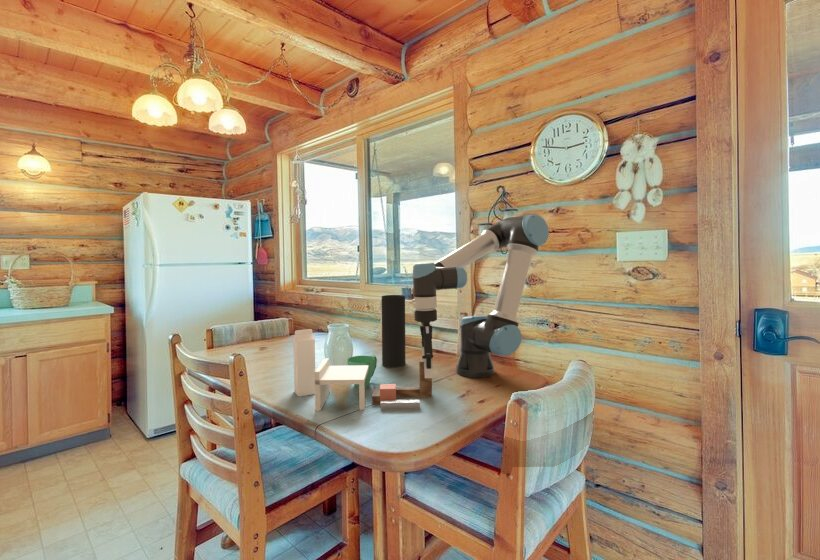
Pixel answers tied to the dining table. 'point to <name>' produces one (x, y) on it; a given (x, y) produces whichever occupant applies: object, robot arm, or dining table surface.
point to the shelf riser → (338, 380)
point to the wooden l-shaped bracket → (421, 391)
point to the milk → (304, 362)
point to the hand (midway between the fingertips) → (427, 371)
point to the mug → (364, 361)
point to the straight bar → (400, 404)
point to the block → (387, 392)
